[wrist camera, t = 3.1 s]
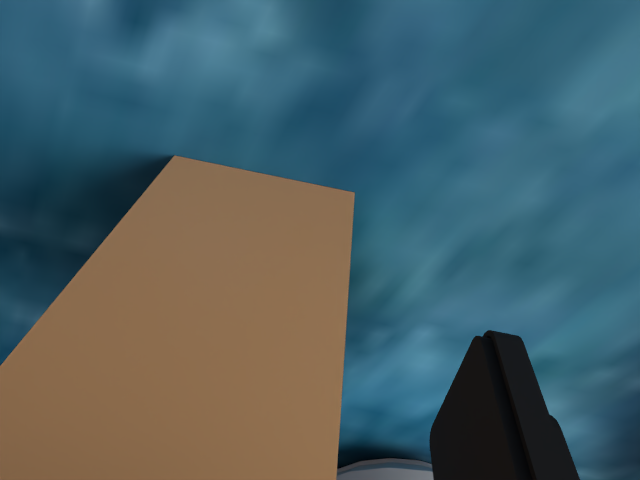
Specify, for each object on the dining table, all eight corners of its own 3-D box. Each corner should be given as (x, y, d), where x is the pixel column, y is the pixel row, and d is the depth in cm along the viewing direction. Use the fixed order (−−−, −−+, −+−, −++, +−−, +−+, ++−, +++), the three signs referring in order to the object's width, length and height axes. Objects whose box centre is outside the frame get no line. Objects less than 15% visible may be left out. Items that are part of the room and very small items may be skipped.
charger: (174, 155, 11) (-139, 534, 4) (354, 192, 11) (328, 620, 4) (169, 296, 13) (-46, 699, 6) (321, 326, 13) (267, 754, 7)
